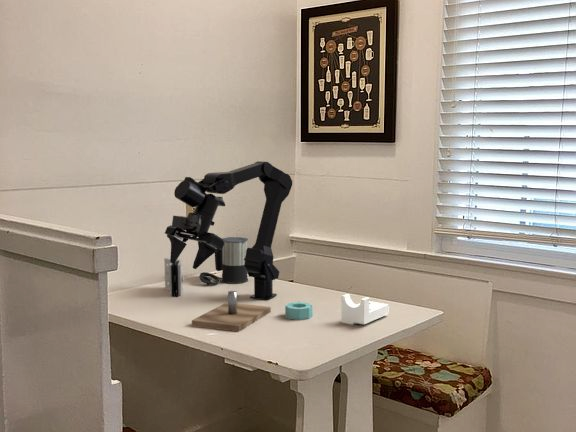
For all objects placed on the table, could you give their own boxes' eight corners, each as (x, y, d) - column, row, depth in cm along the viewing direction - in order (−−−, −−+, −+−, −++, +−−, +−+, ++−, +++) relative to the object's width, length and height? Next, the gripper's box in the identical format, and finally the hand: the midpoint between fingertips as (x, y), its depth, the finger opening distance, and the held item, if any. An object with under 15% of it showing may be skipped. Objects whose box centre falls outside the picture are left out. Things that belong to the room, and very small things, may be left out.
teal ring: (291, 311, 186) (291, 301, 185) (315, 314, 183) (315, 303, 183) (282, 318, 179) (282, 307, 179) (306, 320, 177) (306, 309, 176)
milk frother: (253, 279, 227) (252, 237, 226) (231, 289, 213) (230, 244, 211) (217, 276, 233) (217, 235, 231) (194, 285, 219) (193, 241, 217)
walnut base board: (226, 307, 191) (226, 302, 190) (270, 311, 185) (270, 306, 185) (191, 325, 172) (191, 320, 172) (239, 331, 167) (239, 325, 167)
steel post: (230, 313, 180) (230, 290, 179) (238, 314, 179) (238, 291, 179) (226, 315, 178) (226, 292, 177) (234, 316, 177) (234, 293, 176)
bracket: (364, 327, 171) (364, 299, 170) (341, 323, 175) (341, 295, 174) (388, 317, 181) (388, 290, 180) (366, 312, 185) (366, 286, 184)
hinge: (164, 287, 216) (164, 257, 215) (181, 286, 218) (180, 257, 216) (170, 297, 203) (169, 265, 202) (187, 296, 204) (186, 264, 203)
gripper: (162, 198, 183) (140, 250, 179) (208, 205, 171) (186, 260, 167) (188, 215, 191) (168, 264, 187) (234, 222, 179) (213, 275, 175)
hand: (182, 265), depth 179 cm, fingers open, 9 cm apart
